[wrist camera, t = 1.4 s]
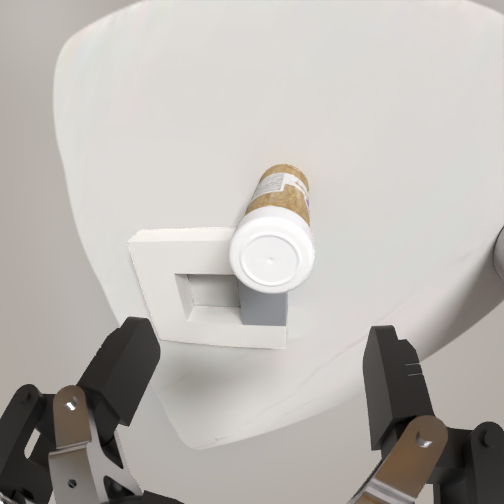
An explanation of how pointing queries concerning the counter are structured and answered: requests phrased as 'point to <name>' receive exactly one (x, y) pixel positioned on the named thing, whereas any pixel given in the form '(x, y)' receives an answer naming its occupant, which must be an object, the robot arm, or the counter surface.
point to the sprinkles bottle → (275, 234)
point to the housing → (180, 297)
